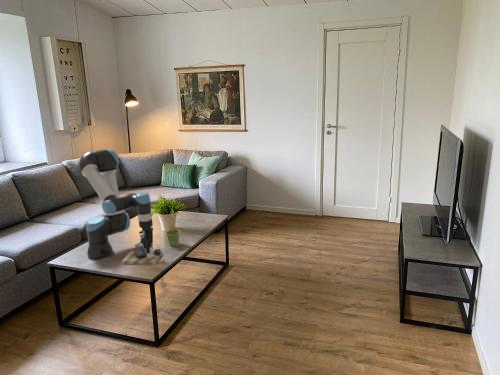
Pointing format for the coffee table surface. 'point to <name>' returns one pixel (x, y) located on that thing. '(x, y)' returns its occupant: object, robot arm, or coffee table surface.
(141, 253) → the saucepan with lid
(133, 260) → the wooden cutting board
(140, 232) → the grey joystick
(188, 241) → the coffee table surface
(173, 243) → the plant pot
